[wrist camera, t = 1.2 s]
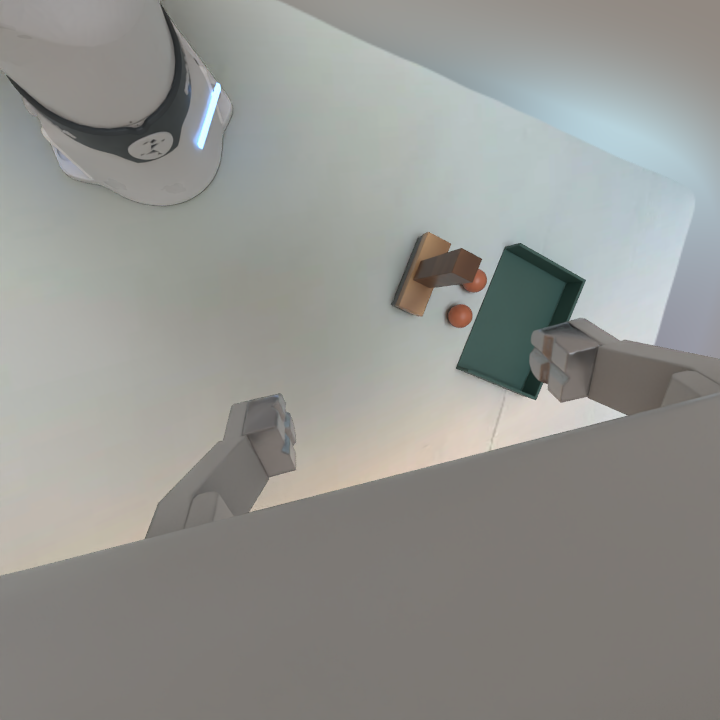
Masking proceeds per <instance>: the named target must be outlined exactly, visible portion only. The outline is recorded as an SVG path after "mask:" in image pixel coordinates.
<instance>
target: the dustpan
mask: <svg viewBox="0 0 720 720" xmlns="http://www.w3.org/2000/svg"><path fill="white" fill-rule="evenodd" d="M585 281H586V280H585V279H583V278H581V277H579V276H578V275H576V274H574V273H572V272H571V271H569V270H567V269H565V268H564V267H562V266H560V265H558V264H556V263H555V262H553V261H551V260H549V259H548V258H546V257H544V256H542V255H541V254H539V253H537V252H535V251H534V250H532V249H530V248H528V247H526V246H525V245H523V244H521V243H518V244H514V245H511V246H507V247H505V249H504V251H503V254H502V256H501V259H500V261H499V264H498V266H497V269H496V271H495V274H494V276H493V278H492V281H491V283H490V286H489V288H488V291H487V293H486V296H485V298H484V301H483V303H482V306H481V308H480V311H479V313H478V315H477V318H476V320H475V323H474V325H473V328H472V330H471V333H470V335H469V338H468V340H467V343H466V345H465V347H464V350H463V352H462V355H461V357H460V360H459V362H458V365H457V367H456V369H459V370H461V371H464V372H466V373H468V374H471V375H473V376H476V377H478V378H481V379H483V380H486V381H488V382H490V383H493V384H495V385H498V386H500V387H503V388H505V389H507V390H510V391H512V392H515V393H517V394H520V395H522V396H525V397H528V398H531V399H534V400H536V399H537V397H538V394H539V392H540V389H541V387H542V385H543V382H540V381H539V380H538V379H537V378H536V377H535V376H534V374H533V373H532V371H531V370H530V369H531V367H530V364H529V356H530V353H531V351H532V350H533V349H534V346H533V344H532V343H531V335H532V333H533V331H534V330H538V329H542V328H546V327H548V326H549V327H550V326H554V325H557V324H561V323H564V322H567V321H569V320H570V317H571V315H572V312H573V310H574V308H575V305H576V303H577V300H578V298H579V295H580V293H581V291H582V288H583V286H584V283H585ZM564 287H565V288H564ZM562 292H563V293H562ZM559 299H560V300H559ZM557 304H558V305H557ZM555 309H556V310H555ZM554 311H555V312H554ZM552 316H553V317H552ZM550 321H551V322H550ZM528 374H529V375H528ZM526 379H527V380H526ZM524 384H525V385H524ZM523 386H524V387H523Z"/></svg>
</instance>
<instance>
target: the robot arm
mask: <svg viewBox="0 0 720 720" xmlns="http://www.w3.org/2000/svg"><path fill="white" fill-rule="evenodd" d="M0 70H2V71H3V72H4V73H5V74H6V76H7V77H8V79H9V80H10V81H11V83H12V84H13V85H14V87H15V88H16V89H17V90H18V91H19V93H20V94H21V95H22V96H23V98H22V101H23V104H24V106H25V107H26V109H27V110H28V112H29V113H30V114H31V115H32V116H38V118H39V120H40V122H41V124H42V126H43V127H42V128H41V132H42V134H43V135H44V137H45V138H46V139H47V140H48V141H49V142H50V144H51V147H52V149H53V151H54V154H55V156H56V158H57V161H58V163H59V165H60V167H61V169H62V170H63V171H64V172H65V173H66V174H67V175H68V176H69V177H70V178H72V179H74V180H77V181H81V182H85V183H91V184H98V185H102V186H104V187H106V188H108V189H110V190H112V191H114V192H116V193H117V194H119V195H121V196H123V197H125V198H127V199H130V200H132V201H135V202H138V203H142V204H147V205H155V206H166V205H174V204H178V203H182V202H185V201H187V200H189V199H191V198H193V197H195V196H197V195H198V194H199V193H201V192H202V191H203V190H204V189H205V188H206V187H207V186H208V185H209V184H210V182H211V181H212V179H213V178H214V176H215V174H216V172H217V170H218V167H219V164H220V160H221V154H222V139H223V133H224V130H225V129H226V127H227V125H228V123H229V121H230V119H231V116H232V113H233V107H232V104H231V101H230V99H229V97H228V96H227V94H226V93H225V92H224V90H223V89H222V88H221V86H220V84H218V82H217V81H216V80H215V78H214V77H213V76H212V74H211V73H210V72H209V70H208V69H207V68H206V66H205V65H204V64H203V62H202V61H201V59H200V58H199V57H198V55H197V54H196V53H195V51H194V50H193V49H192V47H191V46H190V45H189V43H188V42H187V41H186V39H185V38H184V37H183V35H182V34H181V33H180V31H179V30H178V29H177V27H176V26H175V25H174V23H173V22H172V21H171V19H170V18H169V16H168V15H167V13H166V12H165V10H164V8H163V7H162V5H161V4H160V2H159V0H0ZM531 343H532V344H533V346H534V349H533V350H532V351H531V353H530V356H529V364H530V367H531V371H532V373H533V374H534V376H535V377H536V378H537V379H538V380H539V381H540V382H543V383H546V384H548V390H549V391H550V392H551V393H552V394H553V395H554V396H555V397H556V398H557V399H558V400H559V401H560V402H566V401H570V400H575V399H579V398H583V397H588V398H589V399H592V400H594V401H596V402H599V403H601V404H603V405H605V406H608V407H610V408H612V409H614V410H617V411H619V412H621V413H624V414H626V415H628V416H625V417H621V418H617V419H613V420H609V421H605V422H601V423H597V424H593V425H590V426H586V427H582V428H578V429H574V430H570V431H566V432H562V433H558V434H554V435H550V436H546V437H542V438H539V439H535V440H531V441H527V442H523V443H519V444H515V445H511V446H507V447H503V448H499V449H495V450H492V451H488V452H484V453H480V454H476V455H472V456H468V457H464V458H461V459H457V460H453V461H449V462H445V463H441V464H437V465H433V466H430V467H426V468H422V469H418V470H414V471H410V472H406V473H402V474H398V475H394V476H390V477H387V478H383V479H379V480H375V481H371V482H367V483H363V484H359V485H355V486H351V487H347V488H343V489H340V490H336V491H332V492H328V493H324V494H320V495H316V496H312V497H308V498H304V499H300V500H297V501H293V502H289V503H285V504H281V505H277V506H273V507H269V508H265V509H261V510H257V511H253V512H250V513H249V511H250V510H251V508H252V506H253V505H254V503H255V501H256V500H257V498H258V496H259V495H260V493H261V491H262V490H263V488H264V486H265V485H266V483H267V481H268V480H269V477H272V476H276V475H279V474H283V473H286V472H290V471H294V470H296V452H295V449H294V447H293V446H294V444H295V443H296V433H295V427H294V423H293V420H292V417H291V415H290V413H288V412H286V402H285V400H284V398H283V395H282V394H281V393H279V394H275V395H270V396H266V397H261V398H257V399H253V400H249V401H244V402H240V403H236V404H233V405H232V406H231V409H230V413H229V418H228V422H227V426H226V430H225V434H224V438H223V441H220V442H218V443H217V444H216V445H215V446H214V447H213V448H212V449H211V450H210V451H209V452H208V453H207V454H206V455H205V456H204V457H203V458H202V459H201V460H200V461H199V462H198V463H197V464H196V465H195V466H194V467H193V468H192V469H191V470H190V471H189V472H188V473H187V474H186V475H185V476H184V477H183V478H182V479H181V480H180V481H179V482H178V483H177V484H176V486H175V487H174V488H173V489H172V490H171V491H170V492H169V493H168V494H167V495H166V496H165V497H164V498H163V499H162V500H161V501H160V502H159V503H158V505H157V508H156V510H155V513H154V516H153V518H152V521H151V524H150V526H149V529H148V532H147V534H146V537H145V539H144V540H140V541H136V542H132V543H128V544H124V545H120V546H116V547H113V548H109V549H105V550H101V551H97V552H93V553H89V554H85V555H81V556H77V557H73V558H70V559H66V560H62V561H58V562H54V563H50V564H46V565H42V566H38V567H34V568H30V569H26V570H22V571H18V572H14V573H10V574H5V575H1V576H0V720H720V359H717V358H713V357H708V356H702V355H697V354H693V353H687V352H683V351H678V350H673V349H668V348H663V347H658V346H653V345H648V344H643V343H638V342H633V341H628V340H623V341H620V340H618V339H616V338H615V337H613V336H612V335H610V334H608V333H607V332H605V331H604V330H602V329H600V328H599V327H597V326H596V325H594V324H593V323H591V322H589V321H588V320H586V319H583V318H578V319H574V320H571V321H567V322H564V323H561V324H557V325H554V326H550V327H546V328H542V329H538V330H534V331H533V333H532V335H531Z"/></svg>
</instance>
